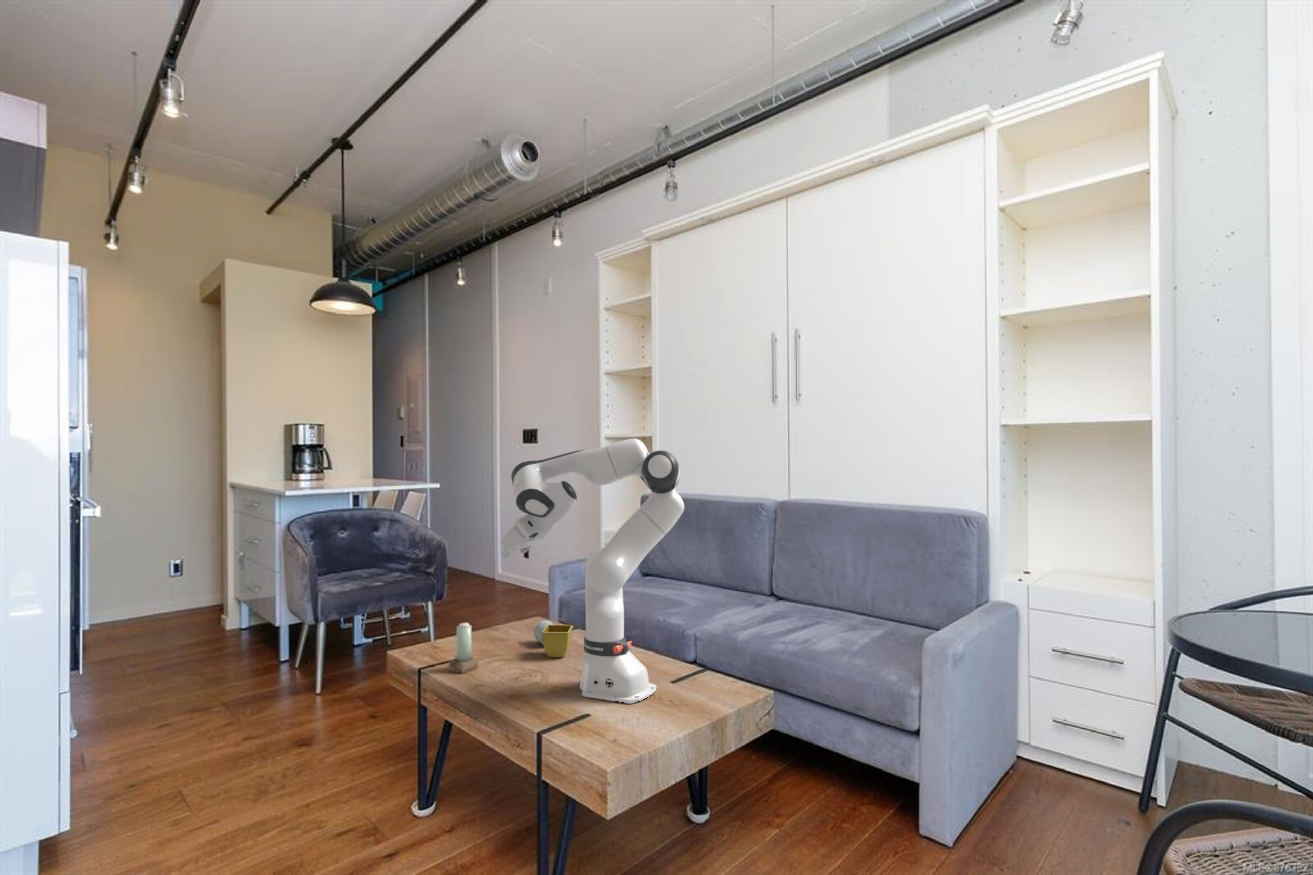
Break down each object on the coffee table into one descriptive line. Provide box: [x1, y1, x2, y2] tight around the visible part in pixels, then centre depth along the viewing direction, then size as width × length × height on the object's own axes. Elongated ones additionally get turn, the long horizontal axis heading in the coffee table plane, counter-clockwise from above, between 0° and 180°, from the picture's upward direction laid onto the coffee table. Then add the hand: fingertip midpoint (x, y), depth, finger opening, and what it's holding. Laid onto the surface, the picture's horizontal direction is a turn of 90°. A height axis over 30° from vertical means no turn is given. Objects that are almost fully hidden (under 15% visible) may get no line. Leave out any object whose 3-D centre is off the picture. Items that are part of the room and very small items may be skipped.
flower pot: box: [542, 624, 573, 658], centre depth 214 cm, size 9×9×9 cm
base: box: [448, 656, 479, 674], centre depth 200 cm, size 6×6×3 cm
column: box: [455, 622, 472, 661], centre depth 200 cm, size 4×4×11 cm
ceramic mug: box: [533, 619, 555, 645], centre depth 227 cm, size 11×8×8 cm
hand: (513, 553), depth 203 cm, fingers open, 8 cm apart
